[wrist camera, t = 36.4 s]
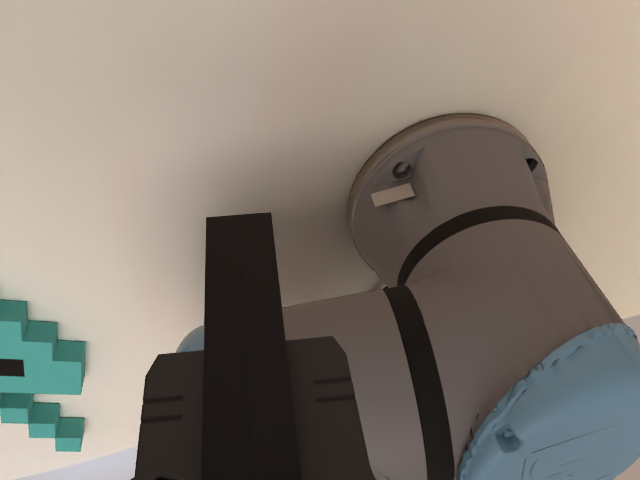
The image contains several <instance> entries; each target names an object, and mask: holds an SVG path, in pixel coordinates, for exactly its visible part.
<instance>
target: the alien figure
mask: <svg viewBox="0 0 640 480" xmlns="http://www.w3.org/2000/svg"><path fill="white" fill-rule="evenodd" d="M84 376H85V342H79V341H60V340H58V338H57V322H39V321H28V312H27V302H23V301H8V300H0V416H1V423H24V424H28V425H29V438H55V445H56V451H71V452H80V451H81V445H82V440H83V434H84V418H60V415H59V404H54V403H34V401H33V393H36V394H69V395H81V392H82V386H83V381H84Z"/></svg>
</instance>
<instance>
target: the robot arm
mask: <svg viewBox="0 0 640 480" xmlns="http://www.w3.org/2000/svg"><path fill="white" fill-rule="evenodd" d="M348 217H349V224H350V228H351V232H352V235H353V239H354V242H355V245H356V248H357V250H358V252H359V254H360V255H361V257H362V258H363V260H364V261H365V262H366V263H367V264H368V266H369V267H370V268H371V269H372V270H373V271H374V272H375V273H376V274H377V275H378V276H379V277H380V279H381V280H382V281H383V282H384V283H385V284H386V285H387V286H386V287H385V288H383V289H380V290H374V291H369V292H364V293H358V294H353V295H348V296H342V297H337V298H331V299H326V300H321V301H315V302H310V303H304V304H299V305H294V306H288V307H283V308H282V305H281V296H280V287H279V278H278V270H277V261H276V252H275V244H274V235H273V226H272V217H271V212H270V213H257V214H244V215H232V216H219V217H206V263H205V315H204V325H202V326H200V327H198V328H196V329H195V330H193V331H192V332H190V333H189V334H188V335H187V336H186V337H185V338H184V340H183V341H182V342H181V344H180V346H179V348H178V349H177V351H176V353H169V354H159V355H158V356H157V358H156V359H155V361H154V363H153V365H152V366H151V368H150V370H149V371H148V373H147V375H146V377H145V386H144V395H143V405H142V414H141V424H140V432H139V441H138V450H137V460H136V469H135V477H134V478H132V479H131V480H613V479H614V478H615V477H617V476H618V475H619V474H620V473H622V472H624V471H625V470H626V469H627V468H628V467H630V466H631V465H632V464H633V463H634V462H635V461H636V460H637V459H638V458H639V457H640V345H639V343H638V340H637V336H636V335H635V333H634V331H633V330H632V329H631V328H630V327H629V326H627V325H625V323H624V322H623V321H622V319H621V318H620V316H619V315H618V314H617V312H616V311H615V309H614V308H613V307H612V305H611V304H610V302H609V301H608V299H607V298H606V297H605V295H604V294H603V292H602V291H601V290H600V288H599V287H598V285H597V284H596V283H595V281H594V280H593V278H592V277H591V276H590V274H589V273H588V271H587V270H586V269H585V267H584V266H583V264H582V263H581V262H580V260H579V259H578V257H577V256H576V255H575V253H574V252H573V250H572V249H571V248H570V246H569V245H568V243H567V242H566V241H565V239H564V238H563V236H562V235H561V234H560V232H559V231H558V229H557V228H556V226H555V222H554V216H553V210H552V204H551V198H550V192H549V186H548V180H547V175H546V171H545V168H544V165H543V163H542V161H541V159H540V157H539V156H538V154H537V153H536V151H535V150H534V149H533V147H532V146H531V145H530V143H529V142H528V141H527V140H526V138H525V137H524V136H523V135H522V134H521V133H520V132H518V131H517V130H516V129H515V128H513V127H512V126H510V125H509V124H507V123H505V122H502V121H500V120H498V119H495V118H492V117H487V116H483V115H475V114H456V115H448V116H442V117H438V118H434V119H430V120H427V121H424V122H421V123H419V124H417V125H414V126H412V127H410V128H408V129H406V130H405V131H403V132H401V133H399V134H398V135H396V136H395V137H393V138H392V139H391V140H389V141H388V142H387V143H385V144H384V145H383V146H382V147H381V148H380V149H379V150H377V151H376V153H375V154H374V155H373V156H372V157H371V158H370V159H369V160H368V162H367V163H366V164H365V165H364V167H363V169H362V170H361V172H360V173H359V175H358V177H357V179H356V181H355V183H354V186H353V188H352V191H351V195H350V199H349V206H348Z"/></svg>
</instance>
